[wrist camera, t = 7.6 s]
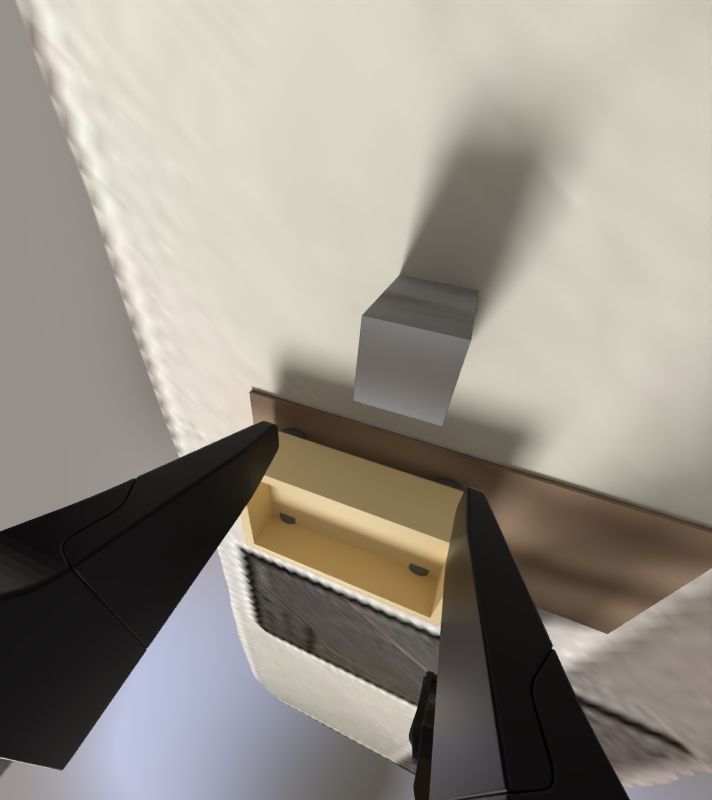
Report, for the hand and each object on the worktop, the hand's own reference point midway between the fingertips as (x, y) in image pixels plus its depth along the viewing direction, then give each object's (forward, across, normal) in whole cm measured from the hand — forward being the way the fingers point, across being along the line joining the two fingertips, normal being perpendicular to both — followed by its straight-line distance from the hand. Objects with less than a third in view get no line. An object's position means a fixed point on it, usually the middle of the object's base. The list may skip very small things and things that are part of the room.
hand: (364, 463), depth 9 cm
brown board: (+11, -4, +16) cm, 19 cm away
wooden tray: (+11, +2, +16) cm, 19 cm away
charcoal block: (+11, 0, 0) cm, 11 cm away
